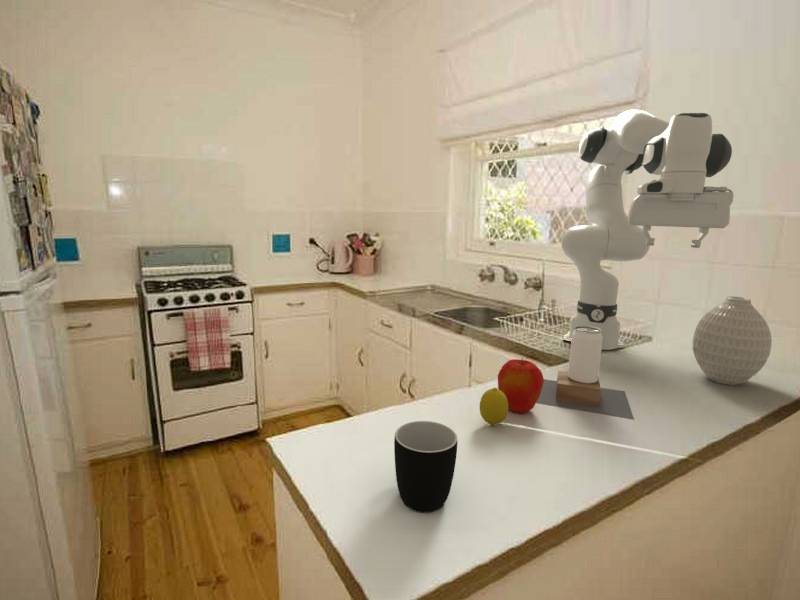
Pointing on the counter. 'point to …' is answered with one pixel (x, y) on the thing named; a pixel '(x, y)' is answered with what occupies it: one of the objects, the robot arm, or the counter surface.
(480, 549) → the counter surface
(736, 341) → the vase
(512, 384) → the apple
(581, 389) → the plinth
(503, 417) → the lemon
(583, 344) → the can
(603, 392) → the mat
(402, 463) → the mug
